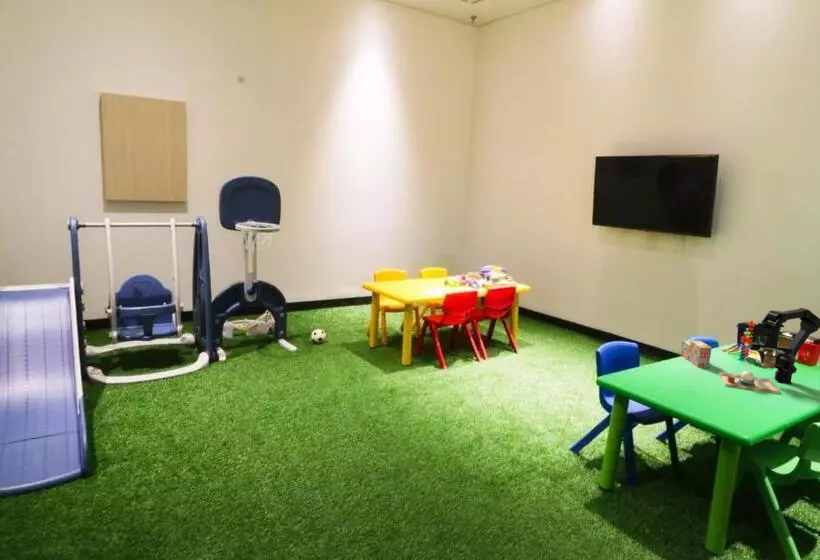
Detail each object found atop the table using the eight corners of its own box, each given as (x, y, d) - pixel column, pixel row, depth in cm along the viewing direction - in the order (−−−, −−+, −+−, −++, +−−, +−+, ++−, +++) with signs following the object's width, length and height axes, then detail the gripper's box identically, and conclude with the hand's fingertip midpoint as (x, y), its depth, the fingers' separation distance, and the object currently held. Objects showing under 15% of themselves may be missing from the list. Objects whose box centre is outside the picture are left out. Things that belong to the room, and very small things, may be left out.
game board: (769, 381, 287) (770, 373, 286) (779, 394, 270) (780, 385, 269) (718, 374, 295) (719, 366, 294) (725, 386, 278) (726, 378, 277)
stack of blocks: (680, 355, 327) (682, 335, 324) (690, 355, 326) (693, 336, 324) (697, 367, 306) (700, 347, 303) (708, 368, 305) (711, 347, 303)
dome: (752, 380, 280) (754, 370, 279) (755, 384, 274) (757, 374, 273) (737, 378, 282) (739, 368, 281) (740, 382, 276) (742, 372, 275)
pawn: (771, 365, 285) (774, 350, 283) (774, 368, 280) (776, 353, 278) (760, 364, 286) (763, 348, 285) (763, 367, 282) (765, 351, 280)
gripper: (789, 333, 284) (783, 361, 287) (748, 329, 291) (743, 356, 293) (795, 339, 274) (790, 368, 277) (753, 334, 280) (748, 362, 283)
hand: (767, 363), depth 283 cm, fingers closed on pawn, 5 cm apart
